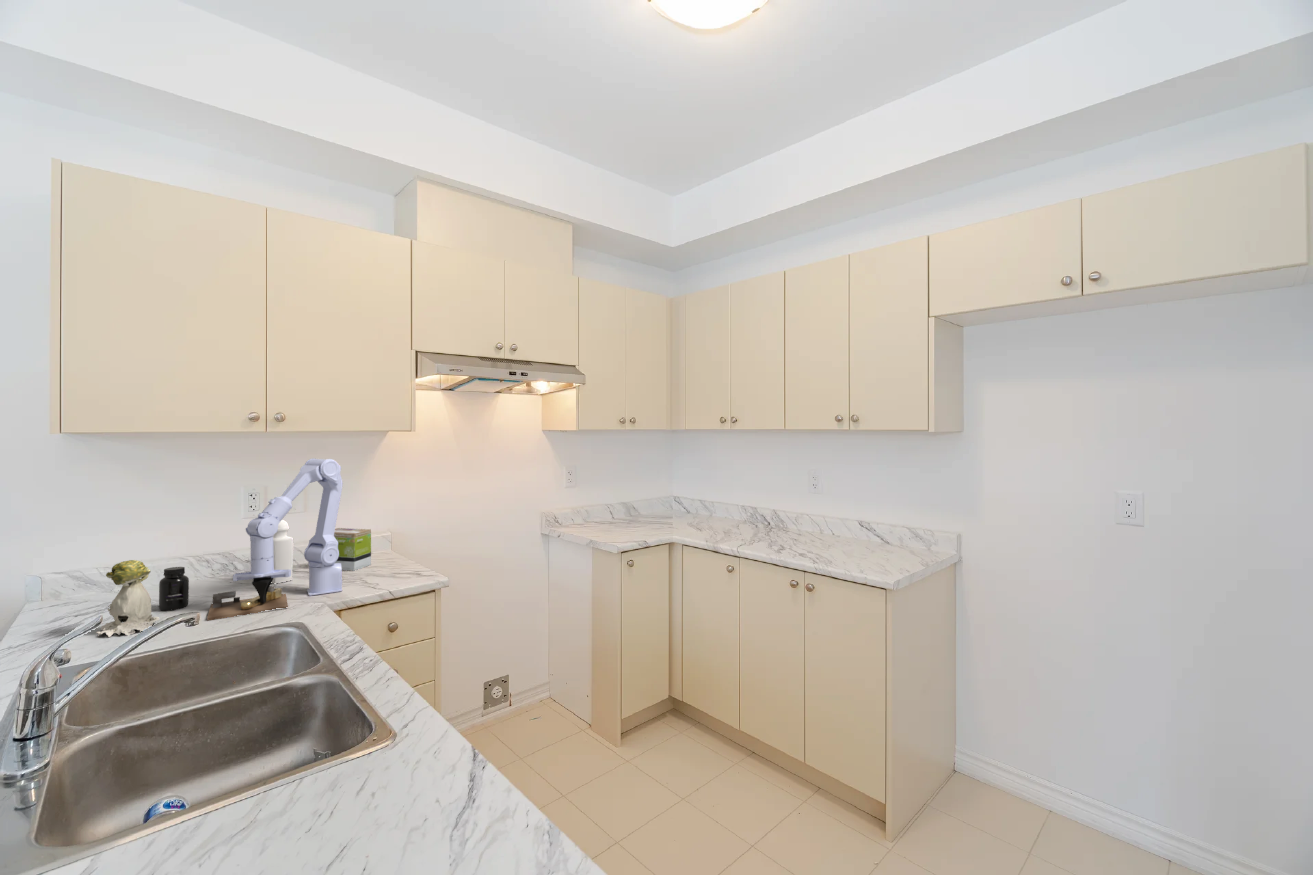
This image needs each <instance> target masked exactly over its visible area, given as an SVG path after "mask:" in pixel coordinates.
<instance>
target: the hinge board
mask: <svg viewBox="0 0 1313 875" xmlns="http://www.w3.org/2000/svg"><path fill="white" fill-rule="evenodd" d="M274 588H275V586H272V585H270V587H269V589H268V592H272V591H274ZM236 592H237V591H236V590H233V591H231V590H230V591H223V592H217V593H215V594H212V603H211V604H210V607H209V610H208V614H207V618H206V621H207V622H208V621H209V622H210V621H215V620H222V619H227V617H229V618H234V616H236V617H238V616H237V615H242V616H248V615H247V614H249V615H251V614H250V613H255V614H259V613H258V612H261V611H265V610H272V609H276V608H286V607H288V608H289V604H288V599H287V593H282V596H281V597H280V598H277V599H273V600H269V601H266V602H265V603H262V604H259V605H257V606H254V607H252V608H251V609H246V610H241V602H244V601H247V600H250V599H252V598H253V597H252V598H243V599H240V597H241V596H236V595H237V593H236ZM232 598H233V600H229V601H222V600H225V599H232Z"/></svg>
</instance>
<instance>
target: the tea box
mask: <svg viewBox="0 0 1313 875" xmlns="http://www.w3.org/2000/svg"><path fill="white" fill-rule="evenodd" d="M334 537H335V538H336V540H337V541H338V550H339V557H338V559H337V561H336V562H335V563H341V568H342V571H349V570H352V571H351V572H355V570H356V571H359V570H361V569H363V567H364V568H367V567H370V566H372V530H371V528H370V529H366V528H348V527H347V528H346V527H345V528H344V527H337V528H335V532H334ZM369 565H370V566H369ZM366 566H367V567H366ZM358 569H359V570H358Z"/></svg>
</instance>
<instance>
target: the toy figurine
mask: <svg viewBox="0 0 1313 875" xmlns="http://www.w3.org/2000/svg"><path fill="white" fill-rule="evenodd" d="M150 573H151V569H149V567H147V566H146V565H145V564H144V562H143V561H142V560H137V559H129V560H125V561H120V562H118V563H116V564H114V565H113V566H112V567H111V571H110V572H109V571H108V572H106V574H105V577H107V578H108V579H111V581H113V583H114V584H115V585H116V586H122V587H121V588H120V590H118V591H117V592H116V591H115V593H117V595H116V596H115V597H114V599H113V600H112V602H111V603H110V604H109V605H108V606H107V611H108V612H109V613H108V614H109V615H110V616H112V618H113V619H114V621H110V622H106V623H105V624H104V625H101V627H100V630H101V631H96V634H97V637H100V636H101V635H103V634H106V636H107V637H108V638H111V636H112V635H113V634H117V635H118V636H120V635H121V633H122V634H124V635H125V636H131V635H133V634H135V633H136V631H135V630H137V631H139V632H140V633H142V632H141V631H143V630H144V629H145V628H148V627H149V626H152V625H153V624H154V623H155V622H156V621H159V620H160V617H159V616H153V614H152V597H151V595H150V593H149V591H148V590H147V589H146V588H145V586H144V585H143V583H142V582H143V581H145V580H146V579H147V578H148V577H149V574H150ZM152 627H153V626H152Z"/></svg>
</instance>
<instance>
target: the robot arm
mask: <svg viewBox="0 0 1313 875" xmlns="http://www.w3.org/2000/svg"><path fill="white" fill-rule="evenodd" d="M341 470H342V466H341V465H340V464H339V462H337V461H336V459H332V458H327V459H326V458H325V459H324V458H310V459H308V460H307V461H305V463H304V464H303V465H302V466H301V467H300V469H299V472H298V474H297V475H296V476H295V478H294V479H293V480H292V482H290V484H289V486H287V488H286V489H285V491H284V492H283V493H282V495H281V496H275V497H274V498H271V499H269V501H268V505H267V506H266V507H264V508H263V510H262V511H261V512H259V513H258V514H257V517H255V518H252V519H251V520H250V521H249V523H248V524H247V527H245V532H246V534H247V535H248V536H249V537H250V538H249V540H250V541H249V542H250V571H247V572H236V573H234V574H233V576H232V581H233V582H238V581H248V580H253V581H252V582H251V584H252V586H253V587H254V588H255V591H256V592H257V593H258V594H257V595H258V596H259V597H260V603H265V602H266V595H267V592H268V589H269V587H271V585H272V583H271V582H272V581H273V578H277V577H290V576H291V570H274V541H273V535H274V534H275V533H276V532H277V531H278V524H279V523H280V521H281V520H284V518H286V516H287V514H288V513H289V512H290V511H291V510H292V508H293V501H294V500H295V499H296V498H297V497H298V496H299V495H300V494H301V493H302V492H303V491H304V490H305V488H306V487H308V486H309V485H310V484H312V483H315V482H318V484H319V485H320V486H321V487H322V495H321V500H320V504H319V506H320V507H319V509H318V510H319V511H318V515H317V521H316V527H315V533H314V535H313V536H312V537H311V538H310V539H309V540H308V545H307V547H306V548H305V549H304V552H303V557H304V559H305V560H306V561H307V562H308V582H309V583H308V585H309V586H308V587H309V588H307V589H306V591H307V594H308V596H309V597H310V596H317V595H323V594H332V593H337V592H338V593H339V592H342V591H343V578H342V577H343V575H342V574H343V570H342V568H341V563H335V562H336V561H337V559H338V557H339V550H338V541H337V540H336V538H335V537H334V532H335V529H336V525H337V520H338V513H339V509H340V502H341V497H342V491H343V484H344V483H343V482H344V481H343V478H342V475H341Z"/></svg>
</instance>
